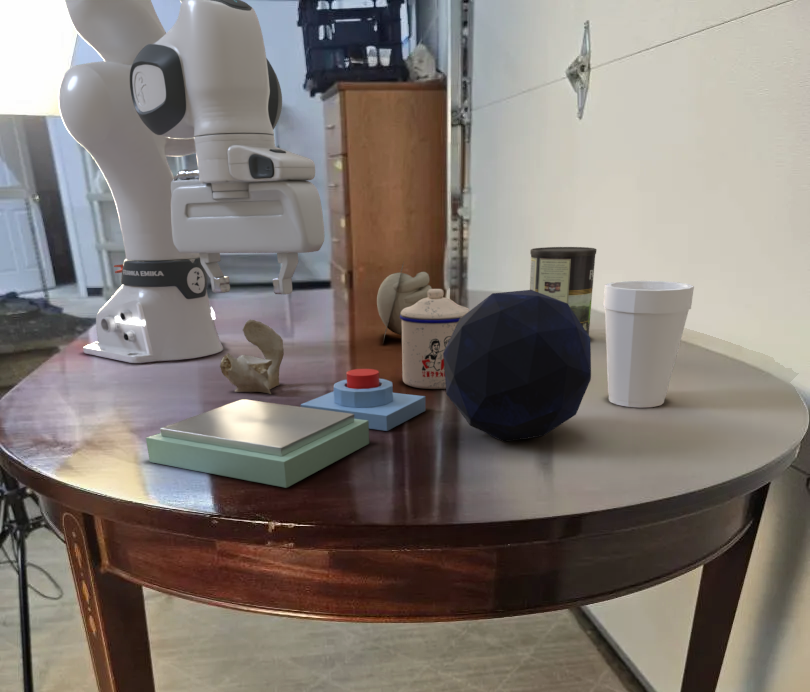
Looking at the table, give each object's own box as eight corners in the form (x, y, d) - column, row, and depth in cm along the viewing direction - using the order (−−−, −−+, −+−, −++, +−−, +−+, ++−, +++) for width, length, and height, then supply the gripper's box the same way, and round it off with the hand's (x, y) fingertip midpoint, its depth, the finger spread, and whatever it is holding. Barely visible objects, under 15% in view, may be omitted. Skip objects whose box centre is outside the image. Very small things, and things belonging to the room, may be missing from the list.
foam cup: (679, 394, 94) (694, 281, 88) (677, 413, 86) (693, 291, 80) (599, 389, 96) (609, 280, 91) (590, 407, 89) (600, 289, 83)
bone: (236, 390, 92) (218, 311, 93) (222, 408, 98) (205, 333, 98) (302, 385, 96) (284, 310, 97) (285, 403, 102) (268, 331, 103)
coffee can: (582, 333, 133) (589, 245, 127) (594, 344, 123) (603, 250, 118) (522, 334, 133) (526, 246, 127) (530, 345, 124) (535, 251, 118)
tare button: (341, 389, 85) (340, 373, 85) (357, 382, 88) (357, 367, 87) (369, 392, 84) (368, 376, 83) (385, 385, 87) (384, 370, 86)
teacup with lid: (423, 393, 96) (422, 295, 91) (388, 379, 103) (386, 288, 98) (502, 381, 101) (505, 288, 96) (463, 369, 108) (465, 282, 103)
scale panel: (301, 419, 86) (299, 388, 85) (344, 400, 93) (343, 371, 92) (387, 431, 81) (386, 398, 80) (425, 410, 88) (425, 380, 87)
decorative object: (425, 345, 136) (426, 357, 126) (368, 329, 135) (365, 340, 125) (446, 272, 130) (449, 278, 121) (387, 254, 129) (385, 260, 120)
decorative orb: (490, 357, 89) (456, 253, 77) (620, 370, 82) (604, 257, 70) (444, 457, 83) (399, 362, 71) (578, 479, 76) (553, 378, 64)
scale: (149, 462, 73) (144, 429, 72) (243, 424, 84) (240, 395, 83) (286, 488, 66) (283, 452, 65) (369, 443, 77) (368, 412, 76)
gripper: (150, 170, 89) (169, 294, 95) (293, 160, 80) (305, 298, 86) (188, 170, 95) (204, 288, 100) (327, 161, 85) (336, 291, 91)
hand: (251, 293), depth 93 cm, fingers open, 8 cm apart
